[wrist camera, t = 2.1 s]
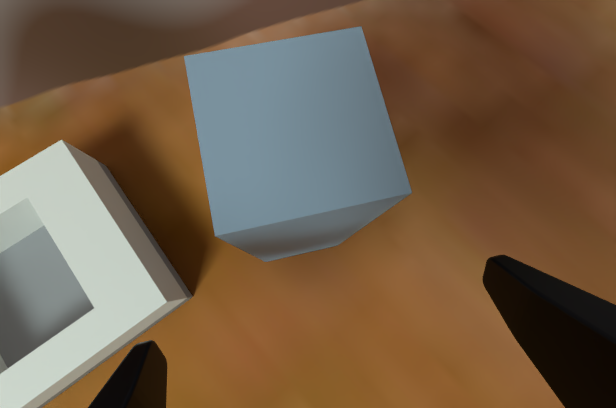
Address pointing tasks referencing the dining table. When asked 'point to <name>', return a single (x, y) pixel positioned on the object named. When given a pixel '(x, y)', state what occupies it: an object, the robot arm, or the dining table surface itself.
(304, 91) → the peg
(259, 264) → the dining table surface
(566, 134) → the dining table surface
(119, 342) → the white slotted board
